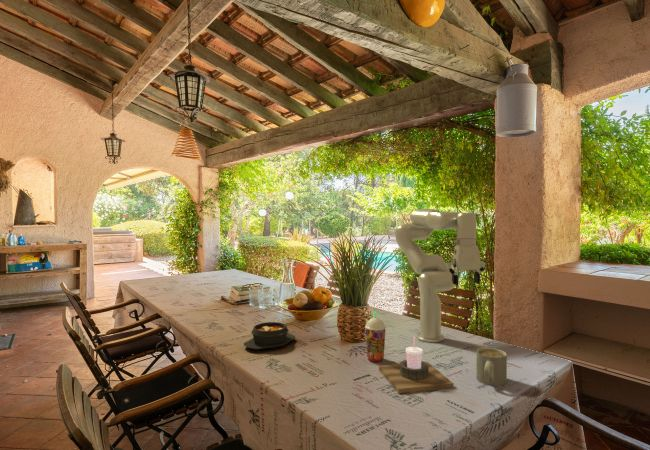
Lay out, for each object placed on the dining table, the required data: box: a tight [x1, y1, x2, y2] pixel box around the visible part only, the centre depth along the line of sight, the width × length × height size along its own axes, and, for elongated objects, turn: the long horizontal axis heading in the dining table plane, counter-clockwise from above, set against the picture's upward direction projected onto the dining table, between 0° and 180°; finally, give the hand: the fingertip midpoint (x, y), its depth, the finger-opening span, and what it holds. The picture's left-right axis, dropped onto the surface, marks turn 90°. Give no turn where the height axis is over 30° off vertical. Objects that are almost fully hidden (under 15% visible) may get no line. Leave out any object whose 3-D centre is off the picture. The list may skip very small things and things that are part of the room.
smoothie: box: [364, 310, 387, 363], centre depth 161 cm, size 8×8×20 cm
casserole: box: [243, 321, 296, 350], centre depth 181 cm, size 25×19×8 cm
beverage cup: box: [405, 335, 424, 369], centre depth 144 cm, size 6×6×14 cm
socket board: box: [378, 359, 454, 394], centre depth 144 cm, size 20×20×5 cm
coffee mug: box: [475, 347, 508, 387], centre depth 141 cm, size 13×10×10 cm
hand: (465, 283), depth 164 cm, fingers open, 9 cm apart
